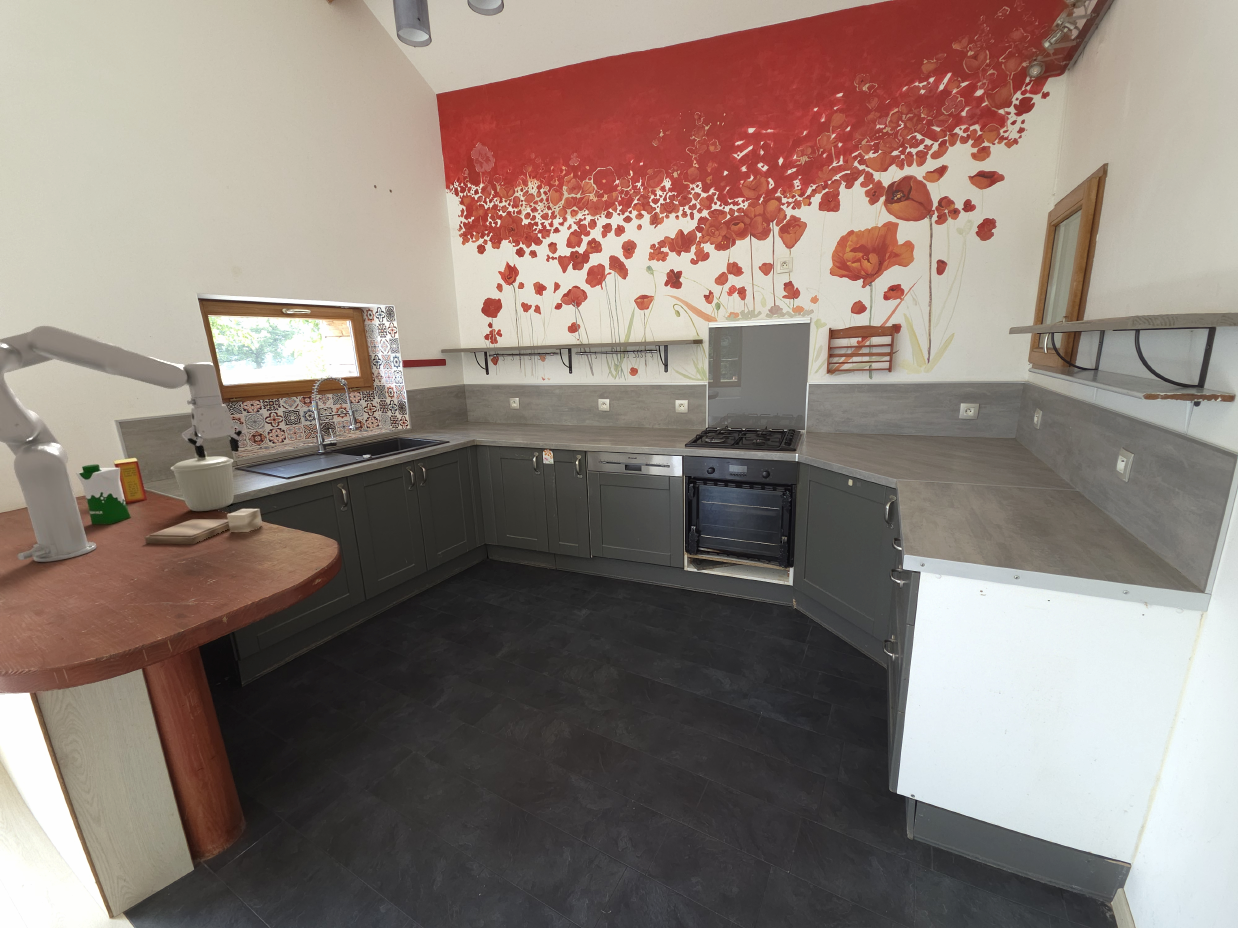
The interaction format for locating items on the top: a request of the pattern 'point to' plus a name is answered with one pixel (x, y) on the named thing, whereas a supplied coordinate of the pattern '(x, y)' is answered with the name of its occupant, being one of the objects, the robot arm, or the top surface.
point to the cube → (244, 520)
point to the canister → (205, 482)
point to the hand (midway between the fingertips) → (219, 454)
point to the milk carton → (104, 494)
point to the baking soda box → (131, 480)
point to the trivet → (188, 532)
